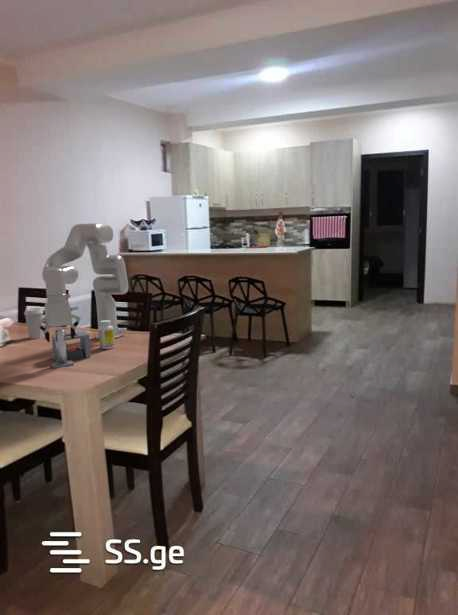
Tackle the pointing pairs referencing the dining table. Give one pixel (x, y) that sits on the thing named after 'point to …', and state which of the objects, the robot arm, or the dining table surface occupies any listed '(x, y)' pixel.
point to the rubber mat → (56, 365)
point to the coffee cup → (34, 322)
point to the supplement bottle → (106, 335)
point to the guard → (80, 352)
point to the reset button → (71, 349)
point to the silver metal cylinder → (61, 346)
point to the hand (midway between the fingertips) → (60, 339)
